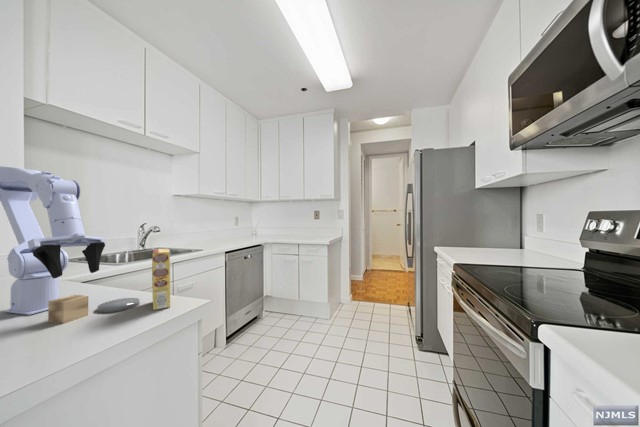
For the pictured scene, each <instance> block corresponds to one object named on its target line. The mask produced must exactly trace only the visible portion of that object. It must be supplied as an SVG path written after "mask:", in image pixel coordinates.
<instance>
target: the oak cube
mask: <svg viewBox="0 0 640 427" xmlns="http://www.w3.org/2000/svg"><path fill="white" fill-rule="evenodd" d="M47 313H48V315H47V316H48V318H47V319H48V323H52V324H54V323H55V324H61V325H62V324H63V325H64V324H68V323H71V322H73V321H76V320H79V319H82V318H85V317H88V316H89V295H82V294H81V295H80V294H72V295H71V294H70V295H67V296H64V297H59V299H55V300H51V301H49V304H48V310H47Z"/></svg>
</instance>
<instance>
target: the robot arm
mask: <svg viewBox="0 0 640 427" xmlns="http://www.w3.org/2000/svg"><path fill="white" fill-rule="evenodd" d="M80 197H81V186H80V184H79V182H77V181H76V180H72V179H71V180H68V179H67V180H65V179H62V178H61V176H59V175H53V173H52V172H50V171H46V170H42V171H40V170H37V169H30V168H29V169H28V168H21V167H20V168H19V167H10V166H4V165H0V202H1V205H2V207H3V210H4V211H5V214H6V217H7V219H8V222H9V224H10V226H11V227H10V228H11V229H12V231H13V234H14V236H15V239H16V241H17V243H18V245H16V246H14V247H13V248H11V250H10V252H9V253H8V254H7V255H8V256H7V266H8V272H9V274H10V275H11V277H13V278H14V279H16V280H14V282H13V283H12V284H11V285H10V286H11V287H10V308H8V309H6V310H5V312H4V313H12V314H18V315H29V316H31V315H34V314H37V313H41V312H45V311H48V304H49V301H51V300H55V299H59V298H60V297H59V296H60V292H59V291H60V289H59V288H60V277H62V276H63V271H65V270H66V268H67V267H68V265H69V262H70V261H69V256H68V253H67V252H66V251H65V250H64V249H63V248H68V247H69V248H72V247H85V249H83V250H81V252H82V254H83V256H84V257H85V259H86V261H87V265H88V270H89V272H90V274H93V273H96V272H98V271H99V270H100V262H101V258H102V254H103V250H104V249H105V247H106V239H105V237H104V236H93V235H86V233H85V230H84V228H85V227H84V225H83V220H82V215H81V211H80V206H79V202H78V201H79V199H80ZM38 199H39V200H40V202H42V206H43V208H45V209H46V212H47V216H48V220H49V225H50V232H51V236H52V237H51V236H50V237H45V236H44V233H43V231H42V229H41V227H40V224H39V223H38V220H37V218H36V215H35V214H34V212H33V209H32V207H31V205H30V202H33V201H36V200H38Z"/></svg>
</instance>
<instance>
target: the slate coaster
mask: <svg viewBox="0 0 640 427" xmlns="http://www.w3.org/2000/svg"><path fill="white" fill-rule="evenodd" d="M139 305H140V299H139V298H137V297H124V298H117V299H113V300H108V301H106V302H103V303H100V304H99V305H97V310H96V311H97V312H98V313H100V314H110V313H119V312H122V311H128V310H130V309H133V308H135V307H137V306H139Z"/></svg>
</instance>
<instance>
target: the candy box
mask: <svg viewBox="0 0 640 427" xmlns="http://www.w3.org/2000/svg"><path fill="white" fill-rule="evenodd" d="M170 254H171V253H170V249H169V248H159V249H153V250H152V258H151V259H152V265H151V267H152V268H151V270H152V272H151V274H152V278H151V281H152V284H151V285H152V310H153V311H157V310H161V309H167V308H171V257H170V256H171V255H170Z"/></svg>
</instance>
